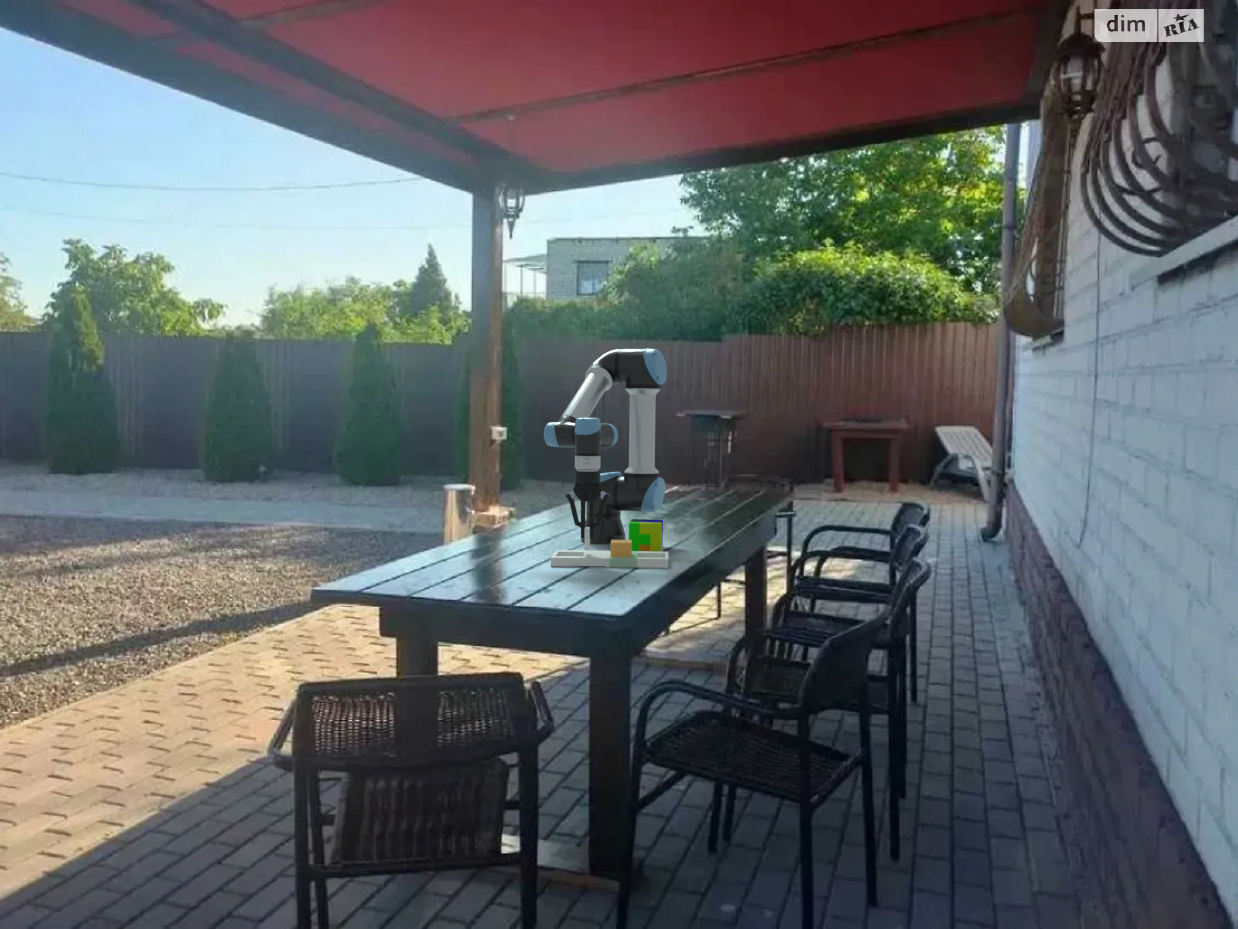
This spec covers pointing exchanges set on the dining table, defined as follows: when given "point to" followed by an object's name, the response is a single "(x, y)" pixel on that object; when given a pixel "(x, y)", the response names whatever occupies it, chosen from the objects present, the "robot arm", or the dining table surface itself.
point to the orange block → (621, 548)
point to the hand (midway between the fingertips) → (587, 549)
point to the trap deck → (609, 559)
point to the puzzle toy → (646, 535)
